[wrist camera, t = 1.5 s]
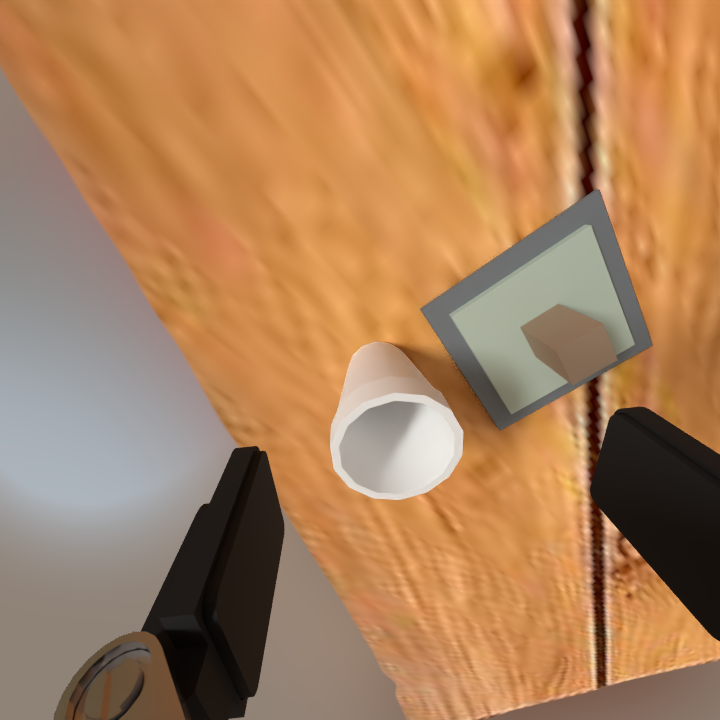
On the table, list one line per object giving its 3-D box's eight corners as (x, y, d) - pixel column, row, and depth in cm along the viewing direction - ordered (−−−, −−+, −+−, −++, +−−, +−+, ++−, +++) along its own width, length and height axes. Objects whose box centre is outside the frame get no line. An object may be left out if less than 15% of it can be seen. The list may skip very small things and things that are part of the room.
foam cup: (410, 315, 33) (450, 375, 21) (431, 391, 37) (474, 478, 25) (320, 344, 34) (309, 418, 22) (349, 416, 37) (354, 512, 26)
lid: (584, 224, 30) (649, 228, 23) (628, 341, 35) (691, 370, 29) (448, 314, 32) (474, 339, 26) (508, 410, 38) (541, 450, 31)
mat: (595, 189, 29) (599, 189, 28) (648, 343, 36) (652, 345, 35) (420, 308, 33) (421, 310, 32) (498, 428, 39) (499, 430, 39)
